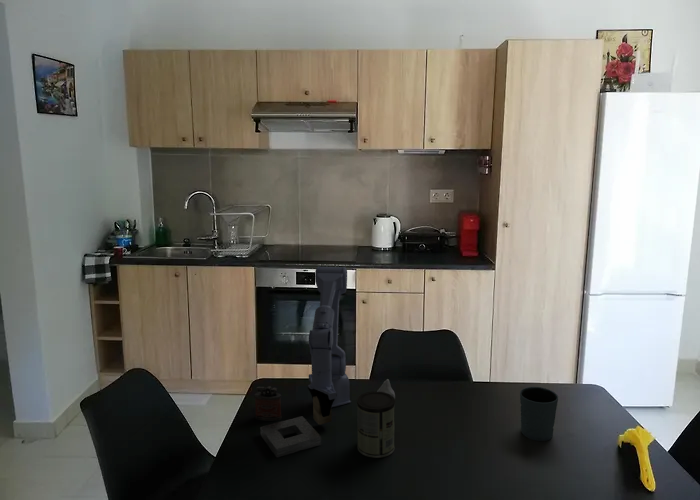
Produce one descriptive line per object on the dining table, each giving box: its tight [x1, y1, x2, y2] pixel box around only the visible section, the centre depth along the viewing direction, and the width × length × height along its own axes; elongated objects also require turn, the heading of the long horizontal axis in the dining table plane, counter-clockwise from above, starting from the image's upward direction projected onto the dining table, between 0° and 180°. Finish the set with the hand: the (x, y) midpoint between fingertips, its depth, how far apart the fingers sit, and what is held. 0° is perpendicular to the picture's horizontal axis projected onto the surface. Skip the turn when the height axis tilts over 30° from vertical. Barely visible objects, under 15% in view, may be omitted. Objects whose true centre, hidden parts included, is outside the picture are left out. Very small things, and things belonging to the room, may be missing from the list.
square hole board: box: [259, 415, 322, 458], centre depth 147 cm, size 13×13×2 cm
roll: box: [377, 378, 396, 399], centre depth 160 cm, size 6×12×6 cm
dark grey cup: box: [519, 386, 559, 442], centre depth 149 cm, size 10×10×12 cm
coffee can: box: [356, 390, 396, 459], centre depth 142 cm, size 10×10×14 cm
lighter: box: [254, 385, 282, 422], centre depth 159 cm, size 8×3×10 cm, turn 84°
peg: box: [312, 396, 333, 426], centre depth 153 cm, size 4×4×7 cm
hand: (322, 412), depth 153 cm, fingers closed on peg, 4 cm apart
